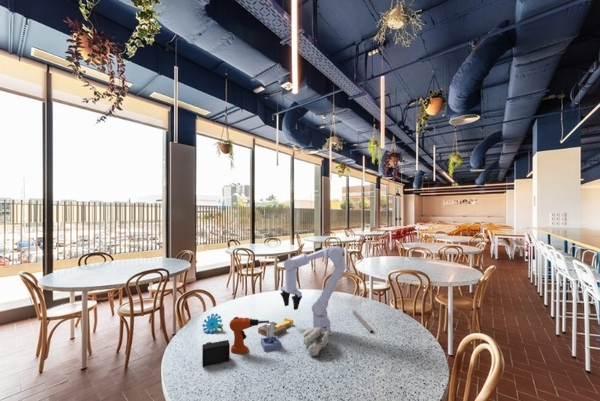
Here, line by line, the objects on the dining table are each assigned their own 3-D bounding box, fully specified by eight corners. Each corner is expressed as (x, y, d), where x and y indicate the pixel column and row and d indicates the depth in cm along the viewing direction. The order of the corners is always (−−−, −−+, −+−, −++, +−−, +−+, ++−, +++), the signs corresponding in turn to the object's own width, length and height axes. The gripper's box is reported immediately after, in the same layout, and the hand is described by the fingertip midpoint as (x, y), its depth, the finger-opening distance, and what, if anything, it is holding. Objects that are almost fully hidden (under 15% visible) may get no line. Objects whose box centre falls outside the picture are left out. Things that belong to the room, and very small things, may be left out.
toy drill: (270, 353, 111) (266, 316, 112) (229, 355, 114) (225, 319, 115) (274, 347, 116) (269, 312, 117) (234, 349, 119) (230, 315, 120)
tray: (281, 347, 118) (281, 342, 118) (264, 351, 115) (264, 345, 116) (276, 340, 125) (276, 335, 125) (260, 343, 123) (260, 338, 123)
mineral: (336, 336, 124) (326, 315, 126) (330, 352, 107) (319, 329, 109) (314, 346, 126) (304, 326, 128) (304, 364, 109) (293, 341, 112)
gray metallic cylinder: (276, 343, 121) (275, 323, 121) (271, 346, 118) (270, 325, 119) (270, 341, 123) (270, 321, 123) (265, 344, 120) (264, 324, 121)
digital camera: (228, 355, 113) (228, 338, 113) (229, 361, 108) (229, 343, 108) (202, 360, 109) (202, 342, 109) (202, 367, 104) (202, 349, 104)
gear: (197, 329, 135) (208, 310, 141) (202, 333, 138) (213, 315, 145) (215, 335, 131) (226, 316, 137) (220, 340, 135) (230, 321, 141)
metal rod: (370, 334, 132) (370, 330, 132) (352, 313, 158) (352, 310, 159) (373, 333, 132) (373, 329, 132) (355, 313, 159) (355, 310, 159)
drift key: (293, 325, 142) (293, 319, 142) (279, 331, 134) (279, 326, 134) (286, 322, 146) (286, 317, 146) (272, 328, 138) (272, 323, 138)
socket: (292, 328, 138) (292, 323, 138) (272, 338, 127) (272, 333, 127) (279, 323, 145) (279, 318, 145) (258, 332, 133) (258, 327, 133)
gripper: (305, 282, 138) (306, 309, 137) (288, 277, 148) (288, 302, 148) (295, 285, 133) (295, 312, 132) (278, 279, 144) (278, 305, 143)
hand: (291, 307), depth 140 cm, fingers open, 7 cm apart
